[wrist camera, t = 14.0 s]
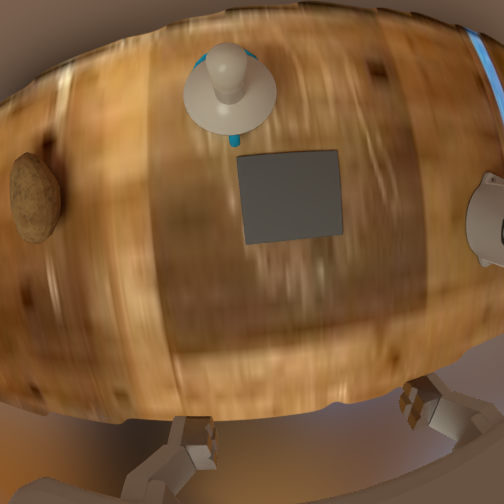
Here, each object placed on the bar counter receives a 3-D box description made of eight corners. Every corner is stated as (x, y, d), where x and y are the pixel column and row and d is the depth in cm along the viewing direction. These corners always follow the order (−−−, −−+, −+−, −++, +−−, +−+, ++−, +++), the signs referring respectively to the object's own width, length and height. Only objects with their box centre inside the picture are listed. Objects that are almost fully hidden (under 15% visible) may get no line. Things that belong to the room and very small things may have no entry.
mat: (336, 150, 37) (337, 150, 37) (341, 233, 40) (342, 234, 40) (236, 157, 37) (236, 157, 36) (245, 244, 40) (245, 244, 39)
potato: (63, 143, 34) (33, 140, 27) (79, 229, 38) (50, 240, 30) (23, 164, 35) (-7, 165, 27) (38, 242, 38) (10, 254, 30)
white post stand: (269, 51, 26) (281, 8, 17) (281, 130, 29) (299, 111, 19) (181, 61, 26) (161, 22, 17) (188, 141, 28) (167, 126, 19)
